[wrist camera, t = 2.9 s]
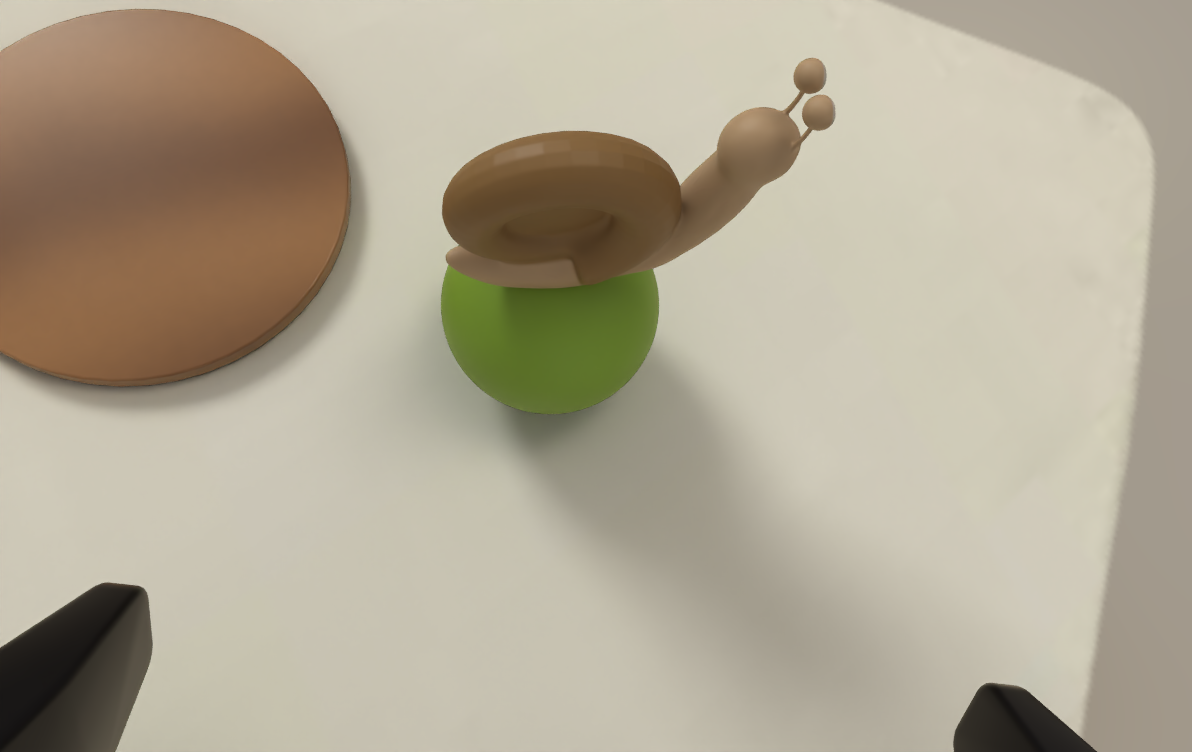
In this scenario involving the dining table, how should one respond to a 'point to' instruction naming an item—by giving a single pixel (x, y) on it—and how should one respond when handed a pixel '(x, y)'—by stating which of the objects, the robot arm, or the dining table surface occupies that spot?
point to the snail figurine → (590, 247)
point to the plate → (159, 196)
